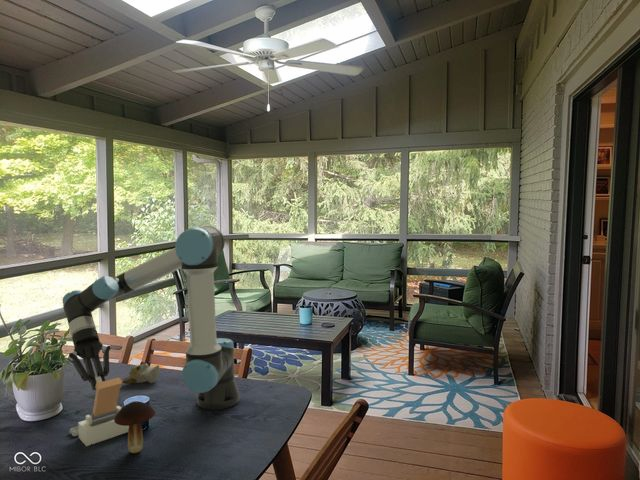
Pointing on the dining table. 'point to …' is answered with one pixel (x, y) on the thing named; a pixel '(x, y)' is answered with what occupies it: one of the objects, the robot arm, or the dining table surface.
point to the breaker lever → (106, 398)
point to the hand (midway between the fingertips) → (102, 397)
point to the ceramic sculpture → (142, 374)
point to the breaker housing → (98, 429)
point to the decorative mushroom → (134, 422)
